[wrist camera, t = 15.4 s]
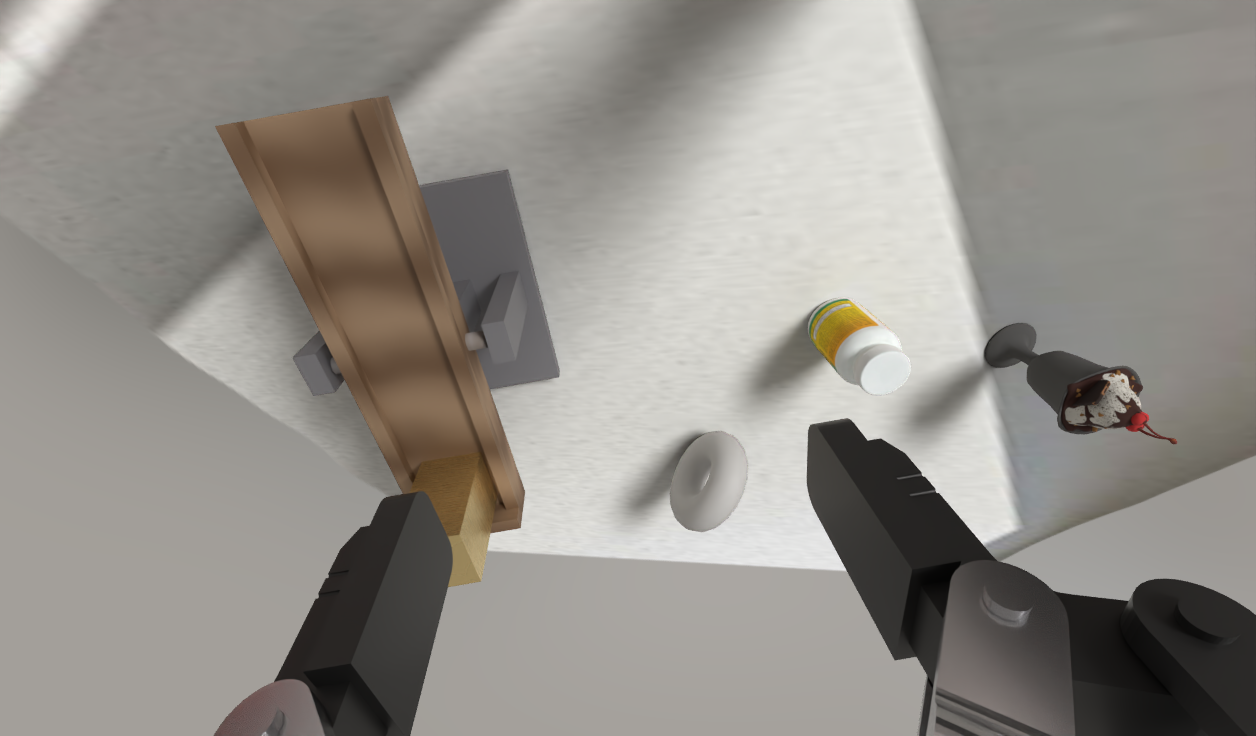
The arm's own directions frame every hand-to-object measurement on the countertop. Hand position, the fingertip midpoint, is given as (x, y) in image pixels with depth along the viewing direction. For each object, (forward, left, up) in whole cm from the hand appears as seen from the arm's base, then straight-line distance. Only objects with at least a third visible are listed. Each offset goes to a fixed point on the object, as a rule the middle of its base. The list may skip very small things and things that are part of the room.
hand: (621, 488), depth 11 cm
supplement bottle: (+16, +20, -34) cm, 43 cm away
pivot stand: (+7, -14, -34) cm, 38 cm away
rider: (+18, -14, -23) cm, 32 cm away
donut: (+28, +6, -34) cm, 45 cm away
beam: (+7, -14, -24) cm, 29 cm away
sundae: (+22, +38, -34) cm, 56 cm away
